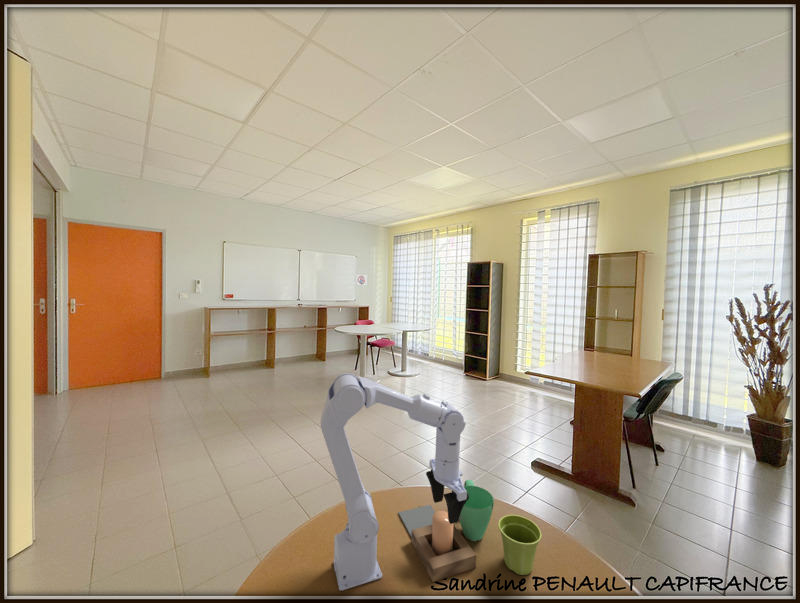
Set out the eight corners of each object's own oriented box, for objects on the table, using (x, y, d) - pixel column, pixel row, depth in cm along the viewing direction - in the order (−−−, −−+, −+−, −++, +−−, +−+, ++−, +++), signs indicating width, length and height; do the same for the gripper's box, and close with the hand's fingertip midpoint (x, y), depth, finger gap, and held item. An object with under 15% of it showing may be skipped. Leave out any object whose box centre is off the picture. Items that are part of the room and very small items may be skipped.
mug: (497, 550, 80) (498, 510, 79) (456, 547, 80) (458, 508, 80) (483, 510, 94) (485, 476, 94) (449, 508, 95) (451, 474, 94)
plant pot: (491, 549, 80) (492, 515, 80) (527, 547, 81) (529, 513, 81) (507, 583, 71) (508, 545, 70) (548, 580, 72) (549, 543, 71)
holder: (432, 582, 71) (433, 569, 71) (411, 541, 82) (411, 530, 82) (475, 567, 75) (476, 555, 74) (449, 530, 86) (449, 519, 86)
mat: (412, 539, 83) (412, 538, 82) (398, 513, 92) (398, 512, 92) (446, 529, 86) (447, 528, 86) (430, 505, 95) (430, 504, 95)
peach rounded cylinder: (437, 565, 75) (438, 527, 75) (428, 549, 80) (429, 513, 79) (456, 559, 77) (457, 522, 76) (446, 543, 81) (447, 508, 81)
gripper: (479, 469, 72) (476, 528, 73) (446, 440, 86) (445, 490, 87) (451, 475, 70) (449, 536, 70) (422, 444, 83) (421, 495, 84)
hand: (445, 511), depth 78 cm, fingers open, 7 cm apart
